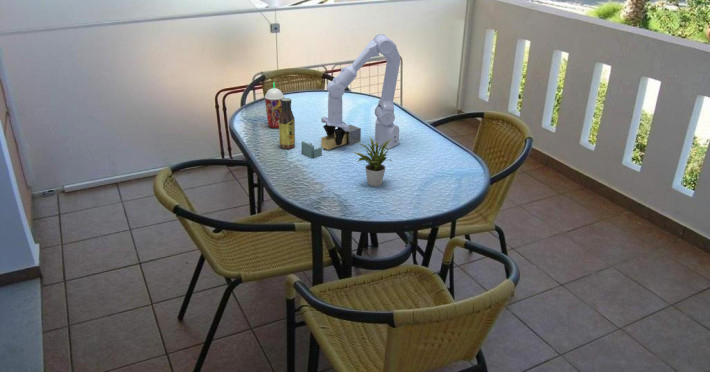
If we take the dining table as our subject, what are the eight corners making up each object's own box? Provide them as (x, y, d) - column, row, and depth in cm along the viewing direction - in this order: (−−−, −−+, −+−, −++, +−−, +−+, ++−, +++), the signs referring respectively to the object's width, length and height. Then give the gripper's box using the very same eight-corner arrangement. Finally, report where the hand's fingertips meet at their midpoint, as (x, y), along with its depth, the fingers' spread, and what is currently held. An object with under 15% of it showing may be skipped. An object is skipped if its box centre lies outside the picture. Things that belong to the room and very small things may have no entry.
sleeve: (349, 137, 253) (350, 124, 250) (360, 141, 248) (360, 128, 246) (338, 141, 248) (338, 128, 246) (349, 145, 244) (349, 132, 242)
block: (349, 137, 251) (349, 128, 249) (356, 139, 248) (356, 130, 246) (321, 146, 240) (321, 137, 239) (328, 149, 238) (328, 140, 236)
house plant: (372, 170, 222) (374, 129, 215) (403, 180, 214) (405, 138, 207) (348, 182, 212) (348, 139, 205) (379, 193, 204) (380, 149, 197)
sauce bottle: (292, 150, 239) (291, 102, 230) (277, 148, 240) (275, 101, 231) (297, 144, 244) (296, 97, 236) (282, 143, 245) (280, 96, 237)
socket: (310, 150, 239) (310, 138, 237) (321, 155, 235) (321, 143, 232) (301, 153, 236) (301, 141, 234) (312, 158, 232) (312, 146, 229)
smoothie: (283, 129, 260) (282, 85, 251) (264, 129, 260) (262, 84, 251) (286, 123, 267) (284, 79, 258) (267, 122, 267) (265, 79, 259)
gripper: (315, 109, 239) (316, 140, 245) (340, 117, 230) (340, 150, 235) (328, 105, 243) (328, 136, 249) (353, 113, 234) (352, 146, 240)
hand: (335, 143), depth 243 cm, fingers closed on block, 4 cm apart
